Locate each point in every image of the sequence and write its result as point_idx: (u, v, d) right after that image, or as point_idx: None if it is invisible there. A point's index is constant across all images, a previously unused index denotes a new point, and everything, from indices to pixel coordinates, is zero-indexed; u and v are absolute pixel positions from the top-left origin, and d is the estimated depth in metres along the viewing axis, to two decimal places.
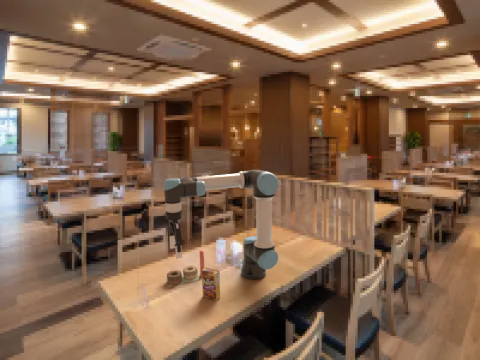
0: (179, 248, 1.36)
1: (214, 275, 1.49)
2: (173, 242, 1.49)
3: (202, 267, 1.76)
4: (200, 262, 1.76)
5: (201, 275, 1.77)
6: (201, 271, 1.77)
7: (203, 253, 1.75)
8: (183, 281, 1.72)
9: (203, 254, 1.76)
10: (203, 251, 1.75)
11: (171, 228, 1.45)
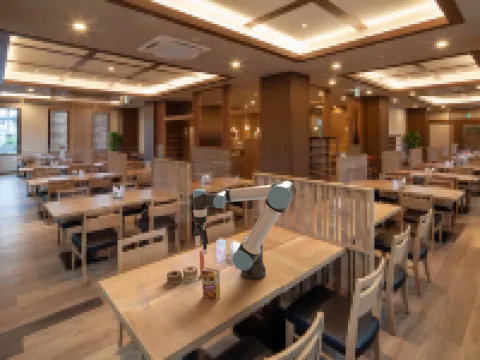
0: (205, 246, 1.68)
1: (214, 275, 1.49)
2: (198, 241, 1.81)
3: (202, 267, 1.76)
4: (200, 262, 1.76)
5: (201, 275, 1.77)
6: (201, 271, 1.77)
7: None
8: (183, 281, 1.72)
9: None
10: None
11: (197, 229, 1.77)
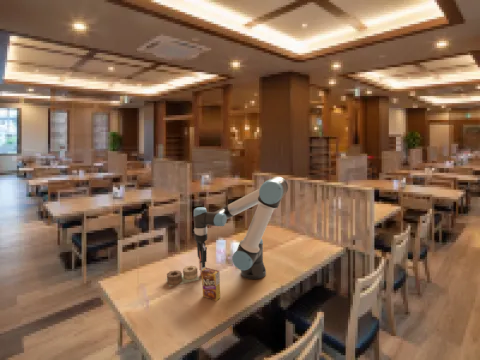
0: (203, 264, 1.74)
1: (214, 275, 1.49)
2: None
3: None
4: None
5: (201, 275, 1.77)
6: None
7: None
8: (183, 281, 1.72)
9: None
10: None
11: None
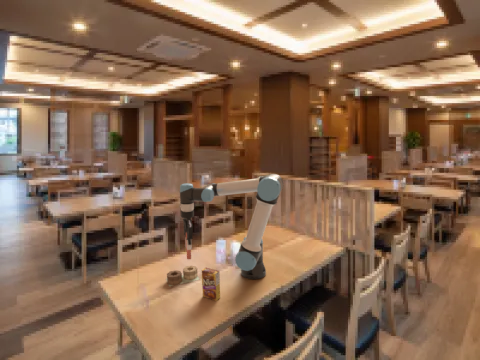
0: (190, 241, 1.71)
1: (214, 275, 1.49)
2: None
3: None
4: (186, 244, 1.73)
5: (187, 257, 1.74)
6: (187, 253, 1.74)
7: None
8: (183, 281, 1.72)
9: None
10: None
11: (186, 226, 1.73)
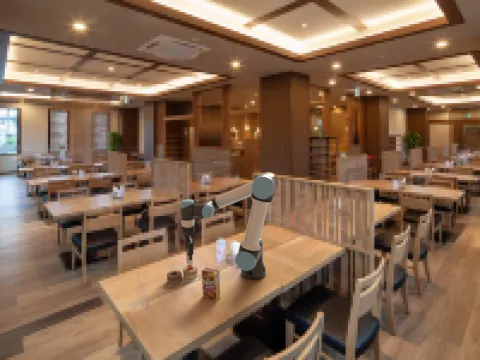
0: (190, 257, 1.72)
1: (214, 275, 1.49)
2: None
3: (189, 265, 1.75)
4: (187, 260, 1.75)
5: None
6: (188, 269, 1.75)
7: None
8: (183, 281, 1.72)
9: None
10: None
11: None
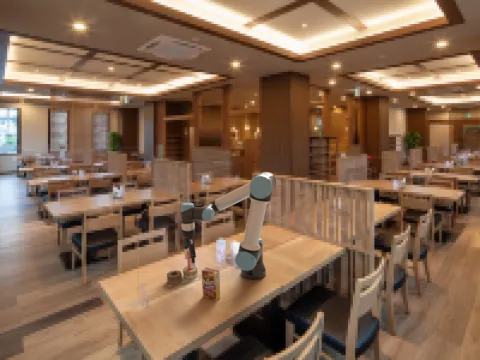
0: (193, 260, 1.68)
1: (214, 275, 1.49)
2: None
3: (190, 267, 1.75)
4: (187, 262, 1.75)
5: None
6: None
7: None
8: (183, 281, 1.72)
9: None
10: None
11: (186, 243, 1.77)
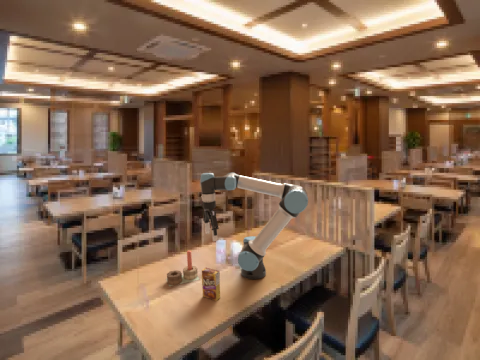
0: (215, 232, 1.59)
1: (214, 275, 1.49)
2: (208, 228, 1.73)
3: (189, 267, 1.75)
4: (187, 262, 1.75)
5: None
6: None
7: (190, 253, 1.74)
8: (183, 281, 1.72)
9: (190, 254, 1.74)
10: (190, 251, 1.74)
11: (206, 216, 1.68)
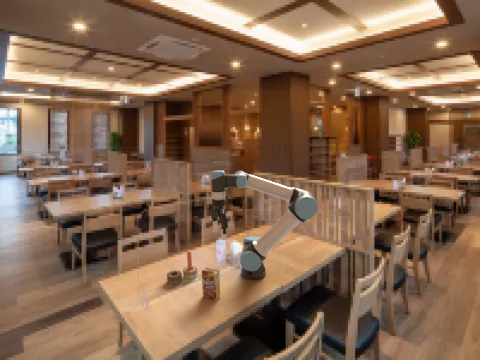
0: (225, 230, 1.57)
1: (214, 275, 1.49)
2: (216, 226, 1.71)
3: (190, 267, 1.75)
4: (187, 262, 1.75)
5: None
6: None
7: (190, 253, 1.74)
8: (183, 281, 1.72)
9: (190, 254, 1.74)
10: (190, 251, 1.74)
11: (215, 214, 1.66)
